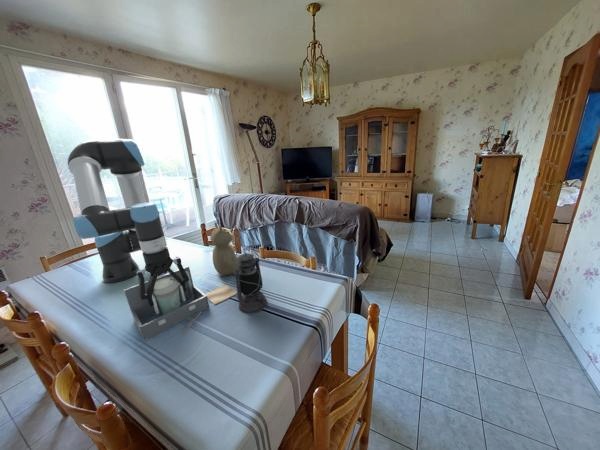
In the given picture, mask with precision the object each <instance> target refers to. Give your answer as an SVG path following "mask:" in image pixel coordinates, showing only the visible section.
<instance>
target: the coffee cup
mask: <svg viewBox="0 0 600 450" xmlns="http://www.w3.org/2000/svg"><path fill="white" fill-rule="evenodd" d="M178 285H179V283H178V281H177V280H176V279H175V278H172V277H168V278H164V279H161V280H158V281H157V282H155V286H154V290H153V294H154V295H155V298H156V300H157V302H158V304H159V306H160V308H161V310H162V311H161V312H162V315H165V314H167V313H169V312H171V311H173V310H176V309H178V308H180V307H182V306H181V302H180V298H179V289H178Z"/></svg>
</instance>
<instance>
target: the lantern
mask: <svg viewBox="0 0 600 450" xmlns="http://www.w3.org/2000/svg"><path fill="white" fill-rule="evenodd" d="M241 232H242V233H244V234H246V237H247V239H248V243H249V247H250V248H251V250H252V252H253V253H246V248H244V249H243V252H244V253H243V254H241V255H239V257H238V261H237V265H238V268H237V269H236V270H235V269H234V274H233V276H234V277H235V284H236V292H237V294H236V295H237V300H238V310H239V311H240V312H241V313H243V314H248V315H250V314H256V313H259V312H261V311H263V310H264V309H265V308H266V306H267V305H268V300H267V297H266V296H265V295H264V293H263V292H262V291H261V290H262V289H263V286H264V285H263V278H262V273H261V272H262V271H261V268H260V258H259V257H257V255H256V253H255V250H254V248H253V246H252V244H251V241H250V238H249V233H248V232H246V231H244V230H242V229H240V230H239V233H238V235H237V237H236V239H238V238H239V236H240V234H241ZM235 243H236V248H235V249H236V250H235V255H236V257H237V255H238V241H236V242H235ZM236 257H235V267H236Z"/></svg>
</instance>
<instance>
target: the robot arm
mask: <svg viewBox="0 0 600 450" xmlns="http://www.w3.org/2000/svg"><path fill="white" fill-rule="evenodd" d="M67 166H68V170H69V172H70V173H71V174H72V175H73V178H74V185H75V189H76V195H77V199H78V204H79V210H80V215H76V216H74V217H73V219H72V224H73V227H74V229H75V232H76V234H77V236H78V237H79V238H80V239H82V240H86V239H93V238H94V244H95V248H96V249H97V251H98V255H99V258H100V261H101V263H102V277H101V278H102V280H103V282H104V283H107V284H111V283H114V284H115V283H119V282H122V281H125V280H128V279H130V278H133V277H135V276H137V277H138V284H139V296H140V298H141V299H142V300H144V299H147V300H148V303H149V305H150V306H153V307H154V310H155V312H156V315H159V314H160V312H159V310H158V307H157V304H156V300H155V297H154V296H153V290H154V286H155V282H156V279H157V277H159V276H162V275H165V274H167V273H170V274H171V275H172V276H173V277H174V278H175V279H176V280H177V281H178V282H179V285H178V288H179V292H180V296H181V299H182V300H183V302H187V300H186V299H185V295H184V292H185V291H186V287H185V282H187V281H189V278H188V276H187V274H186V272H185V270H184V268H183V267H184V266H183V265H182V259H181V258H180V257H179V256H175V257H174V258H171V255H170V252H169V248H168V247H167V246H168V244H167V240H166V237H165V232H164V230H163V229H164V228H163V225H162V221H161V216H160V211H159V209H158V206H157V204H156V203H155V202H150V201H149V202H148V201H147V200H146V197H145V196H146V195H145V192H144V188H143V184H142V180H141V177H140V173H142V170H143V169H142V167H144V166H145V160H144V158H143V155H142V153H141V151H140V148H139V147H138V144H137V142H136V141H135V140H133V139H131V138H130V139H129V138H115V139H98V140H96V139H95V140H94V139H93V140H87V141H83V142H81V143H80V144H78V145H77V146H75V147H74V148H73V149H72V150H71V152H70V154H69V156H68V158H67ZM102 170H109V171H110V173H111V174H112V175H113V176H114V177H116V180H117V183H118V186H119V191H120V193H121V196H122V199H123V203H124V206H125V207H123V208H118V209H112V210H110V207H109V203H108V199H107V196H106V191H105V188H104V185H103V181H102V178H101V174H100V173H101V172H102ZM138 251H141V252H142V257H143V260H144V263H145V265H144V268H142V269H140V267H139V265H138V263H137V262H136V261H135V259H133V257H132V254H131V253H135V252H138ZM173 263H174V264H175V265H176V267H177V270H178V269H179V271H180V273H181V275H182V276H183V279H181V278H180V277H179V276H177V275H176V274H175V273H174V272H173V271H174V270H172V269H171V267H172V266H173ZM146 273H149V279H148V281H149V284H148V288H147V292H146V294H145V282H146V280H145V276H146Z"/></svg>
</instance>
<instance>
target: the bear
mask: <svg viewBox="0 0 600 450" xmlns="http://www.w3.org/2000/svg"><path fill="white" fill-rule="evenodd" d="M235 236H236V234H235V233H232V232H229V231H227V229H223V227H222V225H220V224H219V225H218V224H217V222H216V221H214V228H213V230H212V232H211V234H210V238H209V239H210V241H211V243H212V244H213V245H214V247H213V250H212V264H213V267H214V269H215V271H216V272H217V273H218V274H219V275H220V276H224V277H225V276H230V275H234V269H235V270H236V269H237V268H238V265H237V261H238V257H239V256H240V255H239V256H236V252H235V251H234V249H233V247H232V246H231V245H229V244H230V243H231V242H232V241H234V239H235ZM235 257H236V267H235Z"/></svg>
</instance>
